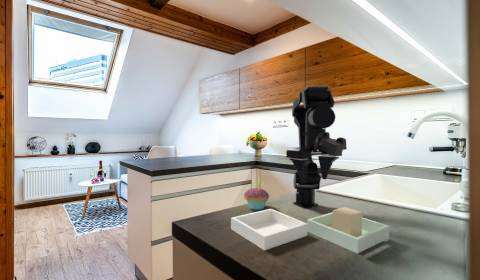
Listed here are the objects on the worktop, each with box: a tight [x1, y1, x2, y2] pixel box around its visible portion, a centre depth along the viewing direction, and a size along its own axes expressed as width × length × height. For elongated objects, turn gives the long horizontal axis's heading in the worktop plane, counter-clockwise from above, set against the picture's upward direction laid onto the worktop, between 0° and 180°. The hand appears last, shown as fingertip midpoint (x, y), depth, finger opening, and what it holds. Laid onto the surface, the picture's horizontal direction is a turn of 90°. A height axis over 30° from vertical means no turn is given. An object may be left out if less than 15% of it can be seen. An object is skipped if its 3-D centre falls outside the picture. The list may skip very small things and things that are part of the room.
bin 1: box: [230, 208, 309, 251], centre depth 63 cm, size 14×14×4 cm
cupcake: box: [243, 175, 270, 211], centre depth 83 cm, size 9×8×12 cm
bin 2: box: [306, 211, 391, 254], centre depth 62 cm, size 14×14×4 cm
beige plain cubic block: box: [332, 206, 363, 237], centre depth 62 cm, size 5×5×6 cm
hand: (314, 180), depth 73 cm, fingers open, 9 cm apart
